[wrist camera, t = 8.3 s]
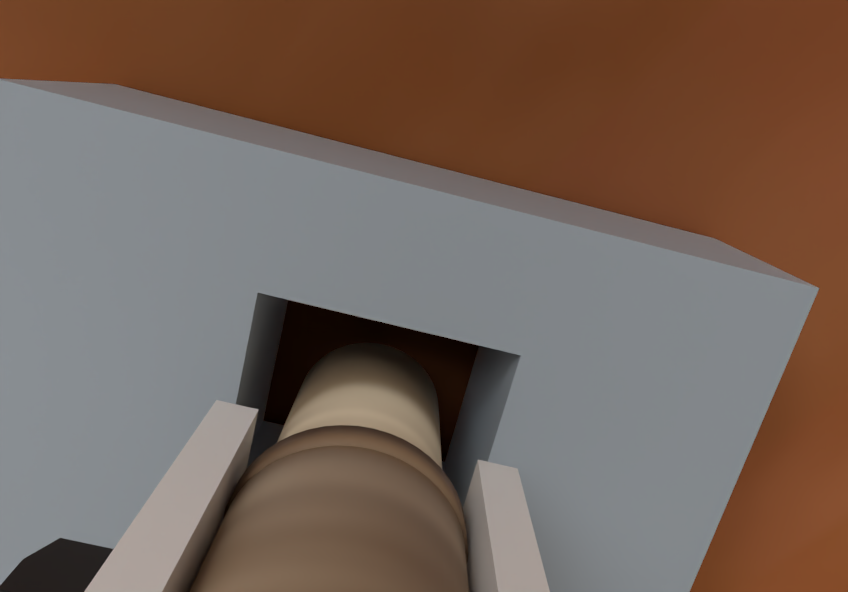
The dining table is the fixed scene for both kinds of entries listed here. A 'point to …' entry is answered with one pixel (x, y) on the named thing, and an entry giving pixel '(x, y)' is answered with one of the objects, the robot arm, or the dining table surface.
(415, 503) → the beech leg
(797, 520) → the dining table surface
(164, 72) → the dining table surface
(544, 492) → the seat board
